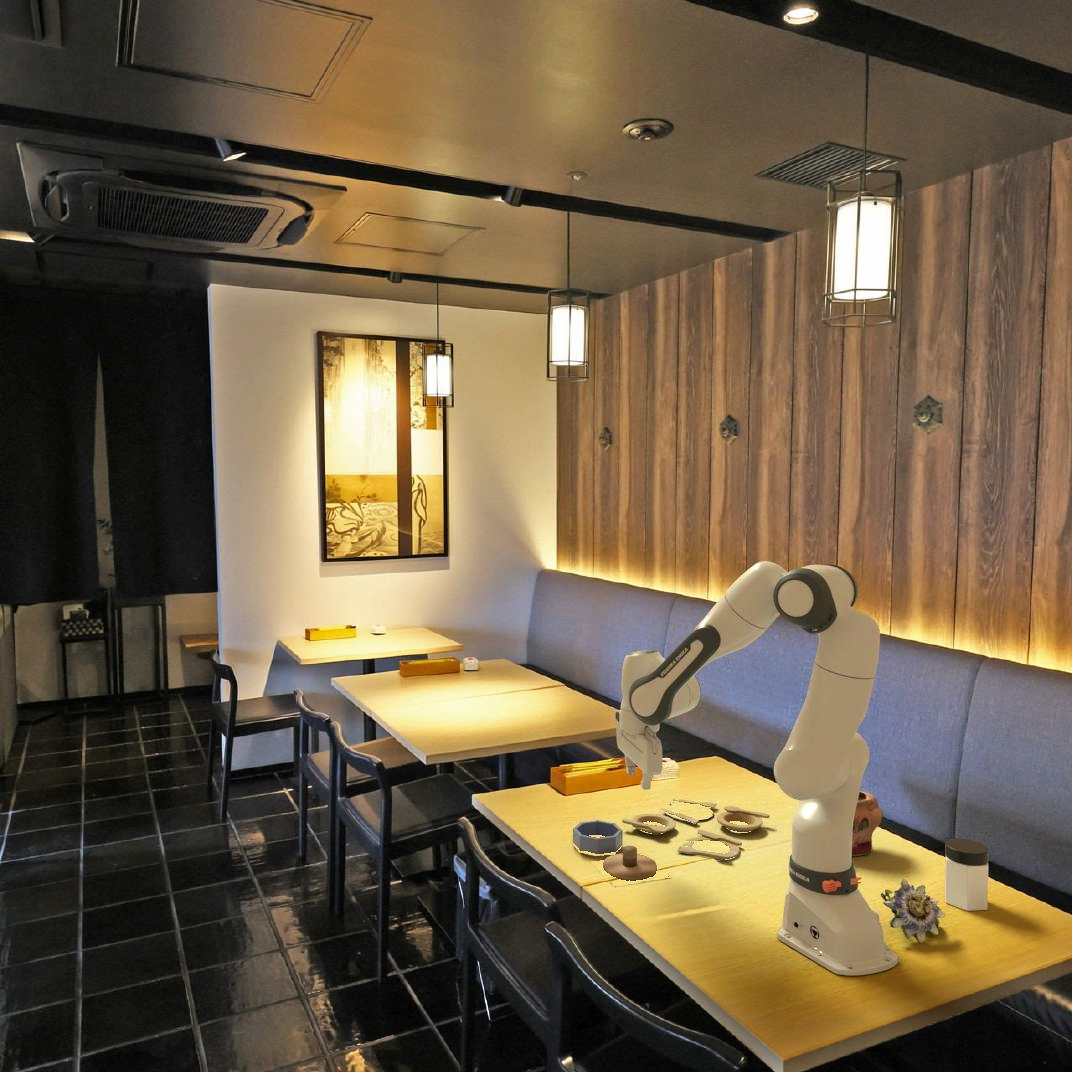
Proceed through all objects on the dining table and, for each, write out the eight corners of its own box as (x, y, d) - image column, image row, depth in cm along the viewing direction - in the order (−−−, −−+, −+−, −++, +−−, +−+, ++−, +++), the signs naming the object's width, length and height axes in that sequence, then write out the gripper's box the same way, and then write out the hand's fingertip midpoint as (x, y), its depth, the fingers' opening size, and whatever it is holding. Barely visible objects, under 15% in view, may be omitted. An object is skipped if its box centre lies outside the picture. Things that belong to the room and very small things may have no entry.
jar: (973, 892, 183) (975, 837, 183) (997, 910, 175) (999, 852, 175) (934, 894, 183) (935, 838, 182) (956, 912, 174) (958, 854, 174)
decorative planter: (825, 866, 196) (826, 807, 195) (792, 846, 207) (793, 790, 207) (895, 855, 203) (896, 797, 202) (859, 835, 214) (860, 781, 214)
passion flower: (919, 969, 163) (897, 929, 159) (880, 931, 173) (859, 893, 169) (963, 932, 165) (943, 892, 160) (922, 897, 175) (902, 858, 170)
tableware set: (721, 871, 195) (722, 853, 194) (612, 840, 212) (612, 824, 212) (779, 824, 222) (779, 809, 222) (679, 801, 240) (679, 786, 240)
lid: (666, 876, 189) (666, 855, 189) (616, 884, 185) (616, 862, 185) (642, 855, 200) (642, 835, 200) (594, 862, 196) (594, 841, 196)
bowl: (628, 855, 202) (628, 835, 202) (584, 862, 198) (584, 841, 198) (609, 838, 212) (609, 818, 212) (568, 844, 209) (568, 823, 208)
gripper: (670, 733, 182) (668, 797, 183) (637, 708, 202) (635, 765, 203) (643, 735, 181) (641, 798, 182) (612, 709, 201) (610, 767, 202)
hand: (638, 781), depth 192 cm, fingers open, 8 cm apart
